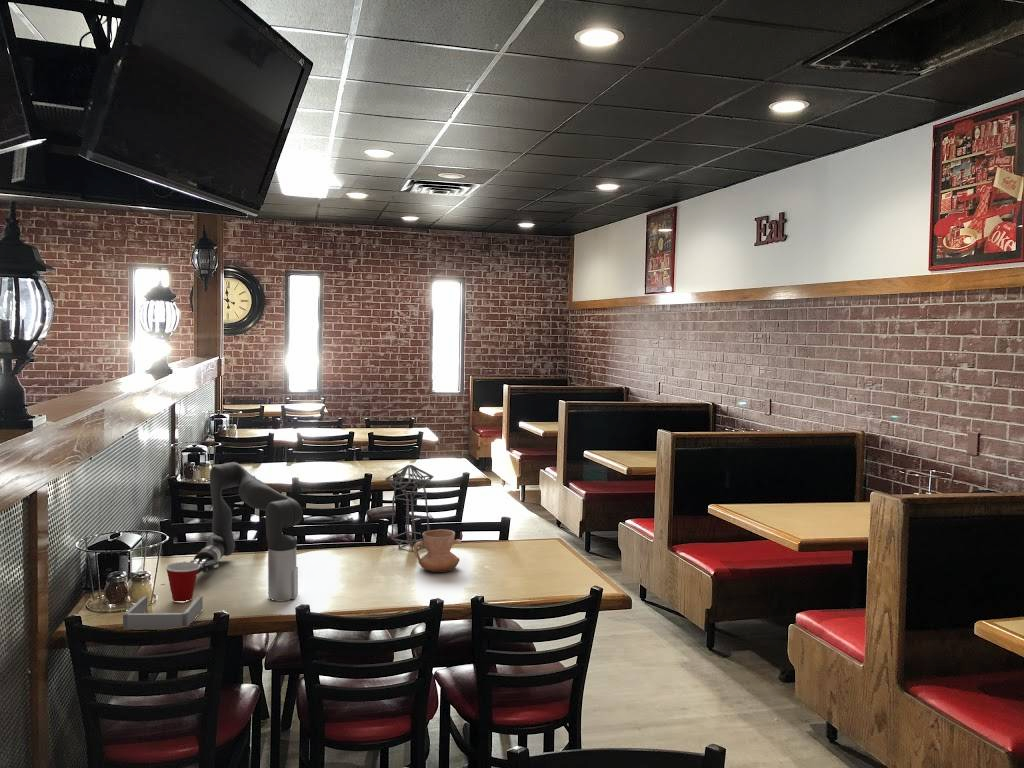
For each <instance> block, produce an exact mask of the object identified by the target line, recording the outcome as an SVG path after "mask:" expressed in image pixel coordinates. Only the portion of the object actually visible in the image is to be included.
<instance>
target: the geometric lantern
mask: <svg viewBox="0 0 1024 768" xmlns="http://www.w3.org/2000/svg"><path fill="white" fill-rule="evenodd" d="M407 472H408V473H407ZM421 473H422V474H424V475H422V474H421ZM395 475H396V476H395ZM406 475H408V481H404V479H405V476H406ZM394 476H395V477H394ZM411 478H412V479H411ZM434 478H435V476H434V475H432V474H430V473H428V472H426V471H424V470H423V469H421V468H419V467H417V466H415V465H412V464H407V465H406V466H404V467H403V468H401V469H399V470H397V471H396V472H394V473H392V474H391V475H389V476H387V477H386V478H385V479H384V480H385V482H386V483H388V484H389V485H390V486H391V487H392V488H393V489H394V492H393V497H392V504H391V505H392V509H391V510H392V511H391V512H392V514H391V515H392V517H391V519H392V520H391V538H390V539H391V540H392V541H394V542H396V543H397V545H398V550H404V551H408V550H409V552H412V551H413V552H414V545H415V544H416V543H417V542H419V541H422V542H424V539H423V538H420V539H417V535H416V534H418V535H421V536H423V533H424V532H416V522H415V510H414V509H415V508H414V501H417V500H419V499H420V500H421V499H424V502H425V513H426V523H427V526H426V527H427V531H430V530H431V529H430V524H429V523H430V520H429V514H428V513H429V511H428V509H429V508H428V497H427V496H428V494H427V490H426V486H427V484H428V483H430V481H431V480H432V479H434ZM398 480H399V481H398ZM412 480H413V481H412ZM411 481H412V482H411ZM402 484H404V485H402ZM410 484H413V485H414V487H413V490H412V491H411V492H407V490H406V488H405V487H407V486H408V485H410ZM397 486H399V487H397ZM416 488H417V489H416ZM420 489H423V493H417V492H418V491H419V490H420ZM397 490H401V491H402V494H398V495H396V491H397ZM415 490H416V491H415ZM414 491H415V492H414ZM409 495H410V499H409ZM416 495H418V496H421V497H418V498H414V497H415V496H416ZM399 496H405V498H406V499H405V498H400V497H399ZM396 500H402V501H406V507H405V511H406V512H405V513H406V514H405V532H403V533H400V534H396V535H394V532H395V531H394V522H395V519H394V518H395V517H394V515H395V501H396ZM409 502H410V503H409ZM409 505H410V507H409ZM409 509H410V510H409ZM410 511H411V513H410ZM410 514H411V531H410ZM421 533H422V534H421ZM405 534H406V537H407V539H406V540H403V539H397V538H396V537H400V536H403V535H405ZM410 534H411V535H410ZM413 535H414V539H412V537H413ZM403 543H406V544H403ZM405 546H406V547H411V549H406V548H403V547H405ZM418 547H419V548H417V551H419V550H422V549H424V548H425V547H424V546H422V545H419V546H418ZM421 548H422V549H421ZM418 549H419V550H418Z"/></svg>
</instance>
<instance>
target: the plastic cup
mask: <svg viewBox="0 0 1024 768" xmlns="http://www.w3.org/2000/svg"><path fill="white" fill-rule="evenodd" d="M164 568H165V570H166V573H167V577H168V582H169V588H170V592H171V596H172V601H173V600H174V601H186V600H190V599H192V600H193V596H194V591H195V586H196V580H197V576H198V574H197V572H198V569H199V568H200V565H199V564H196V563H191V562H190V561H188V562H187V561H182V562H173V563H169V564H166V565H165V567H164ZM174 601H173V602H174Z"/></svg>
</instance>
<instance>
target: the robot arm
mask: <svg viewBox="0 0 1024 768" xmlns="http://www.w3.org/2000/svg"><path fill="white" fill-rule="evenodd" d="M209 486H210V487H209V488H210V496H211V505H212V524H211V525H212V526H211V532H212V533H213V535H211V536H209V537H208V538H207V540H206V544H205V547H204V548H201V550H200V551H198V552H197V554H196V555H195V556H194V557H193V559H192V560H190V561H189V562H191V563H196V564H199V565H200V568H199V569H198V572H197V575H199V574H201V573H204V574H206V573H209V572H212V571H216V570H219V562H220V560H221V559H222V558H223V556H225V557H229V556H231V555H232V554H233V553H234V551H235V549H236V542H235V537H234V535H233V531H232V530H233V529H232V526H233V525H232V523H233V513H232V509H231V507H230V506H229V505H228V504H227V502H226V501H225V499H224V498H223V495H222V492H223V490H226V489H230V488H234V487H239V488H238V495H239V498H240V499H241V501H242V502H243V503H244V504H246V505H247V506H249V507H250V508H253V509H256V510H259V511H264V512H265V530H266V531H265V532H266V542H267V570H268V571H267V572H268V574H267V581H268V585H267V587H268V588H267V591H268V592H267V595H268V597H269V598H270V599H273V600H288V601H291V600H290V599H295V600H296V598H297V596H298V594H299V575H298V574H299V571H298V570H299V567H298V566H297V539H296V538H295V537H294V536H292V535H286V534H284V533H283V529H285V528H289V527H293V526H296V525H298V524H299V523H300V522H301V521H302V519H303V517H304V516H303V515H304V513H303V509H302V506H301V505H300V503H299V502H298V501H297V500H296V499H294V498H292V497H290V496H288V495H285V494H283V493H281V492H279V491H277V490H275V489H273V488H272V487H270V486H269V485H268V484H267V483H265V482H263V481H262V480H260V479H259V478H257V477H255V476H254V475H253V474H251V473H250V472H249V471H248V470H247V469H245V467H243V466H242V465H241V464H239V462H235V461H232V462H227V463H221V464H217V465H213V466H212V467H211V469H210V470H209ZM268 597H267V598H268ZM269 598H268V599H269ZM270 599H269V600H270Z"/></svg>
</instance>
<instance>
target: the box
mask: <svg viewBox="0 0 1024 768" xmlns="http://www.w3.org/2000/svg"><path fill="white" fill-rule="evenodd" d="M203 600H204V599H203V595H198V596H196V598H195V599H194V600H193V602H192V603H190V605H188V607H187V608H186V609H185V610H184V612H156V613H155V612H150V613H149V612H148V596H147V595H146V596H145V595H143V596H142V597H141V598H139V600H138V601H136V603H134V604H133V605H132V606H131V607H130V608H129V609H128V610H127V611H125V613H123V614H122V630H123V629H134V630H142V629H166V628H173V627H182V626H188V625H190V623H192V622H193V621H194V619H195V617H196V616H197V615H198V614H199V613H200V612H201V610H202V609H203V607H204V605H203V603H204V602H203ZM146 611H147V612H146ZM144 612H146V613H144ZM201 613H202V612H201ZM194 622H195V621H194ZM194 622H193V623H194ZM193 623H192V624H193Z"/></svg>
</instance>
